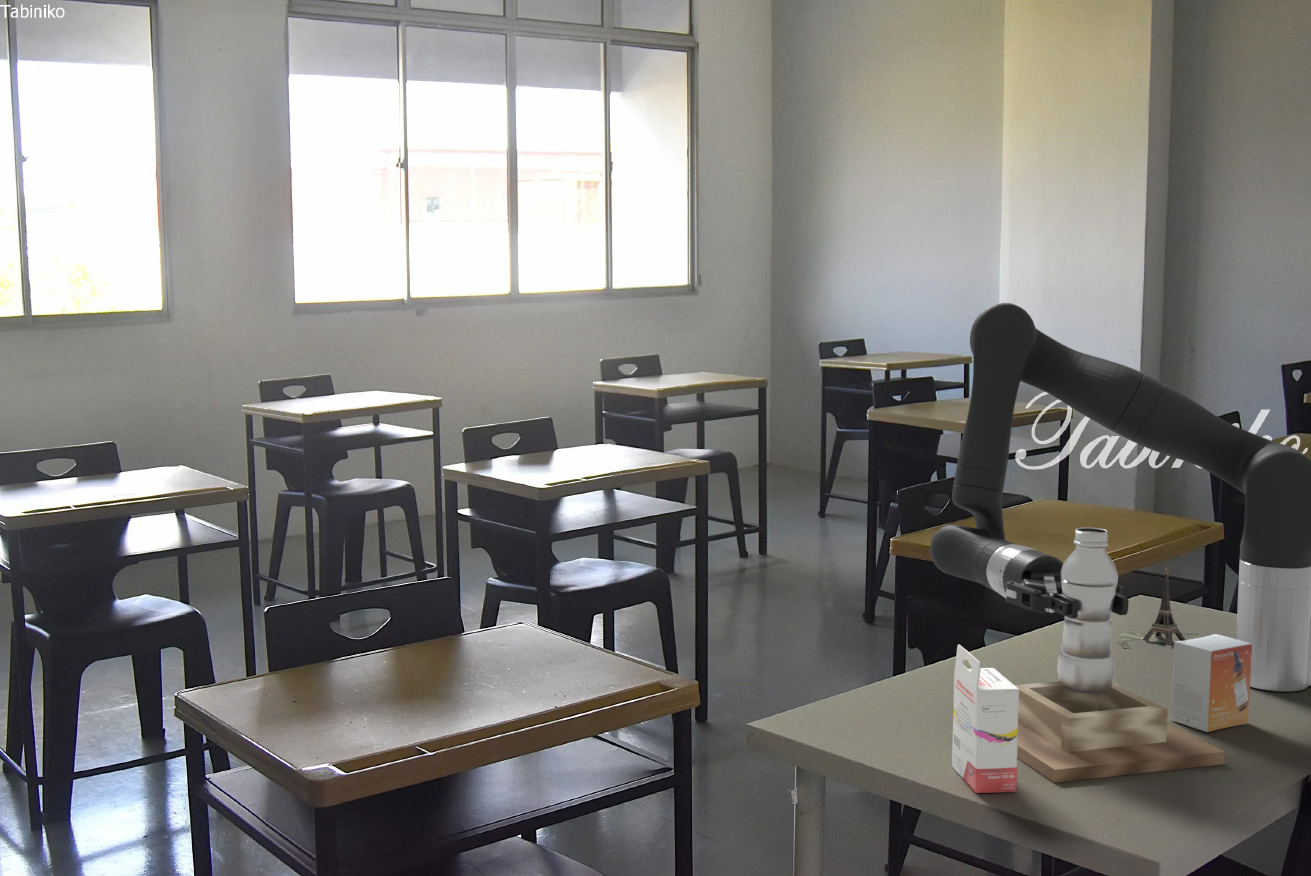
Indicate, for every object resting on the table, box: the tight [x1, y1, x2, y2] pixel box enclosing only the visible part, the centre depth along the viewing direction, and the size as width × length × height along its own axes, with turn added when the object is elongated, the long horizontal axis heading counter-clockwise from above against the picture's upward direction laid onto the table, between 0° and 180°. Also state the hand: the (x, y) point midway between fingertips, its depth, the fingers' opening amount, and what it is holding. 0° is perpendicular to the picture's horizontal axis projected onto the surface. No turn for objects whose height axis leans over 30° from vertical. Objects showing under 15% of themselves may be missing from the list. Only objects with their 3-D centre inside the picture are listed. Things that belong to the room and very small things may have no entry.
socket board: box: [1014, 680, 1226, 783], centre depth 153 cm, size 22×22×6 cm
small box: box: [1170, 633, 1252, 733], centre depth 159 cm, size 8×6×10 cm
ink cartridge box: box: [951, 644, 1019, 794], centre depth 141 cm, size 9×5×15 cm, turn 5°
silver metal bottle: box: [1056, 527, 1119, 694], centre depth 152 cm, size 6×7×20 cm
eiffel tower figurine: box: [1117, 566, 1200, 650], centre depth 197 cm, size 15×10×13 cm
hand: (1100, 608), depth 149 cm, fingers closed on silver metal bottle, 6 cm apart
